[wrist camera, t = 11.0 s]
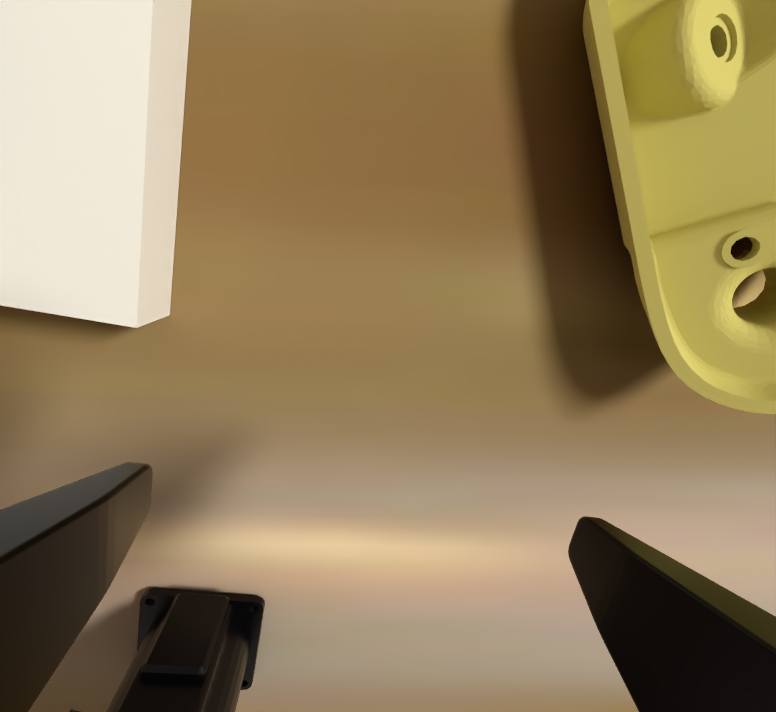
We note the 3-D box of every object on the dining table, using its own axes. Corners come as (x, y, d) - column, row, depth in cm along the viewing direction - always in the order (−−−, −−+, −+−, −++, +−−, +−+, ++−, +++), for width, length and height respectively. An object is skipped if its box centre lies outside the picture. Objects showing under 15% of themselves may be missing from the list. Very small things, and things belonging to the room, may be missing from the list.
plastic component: (574, -67, 14) (1005, -326, 10) (565, 21, 21) (823, -113, 17) (668, 428, 18) (1000, 391, 14) (635, 371, 25) (856, 335, 21)
